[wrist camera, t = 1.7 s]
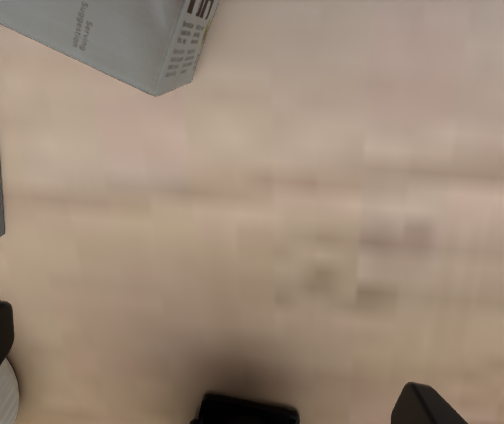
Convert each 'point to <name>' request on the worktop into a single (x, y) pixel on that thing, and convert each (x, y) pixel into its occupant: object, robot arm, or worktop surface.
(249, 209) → the worktop surface
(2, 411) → the ramekin
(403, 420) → the robot arm
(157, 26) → the coffee box
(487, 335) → the worktop surface
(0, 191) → the mat
